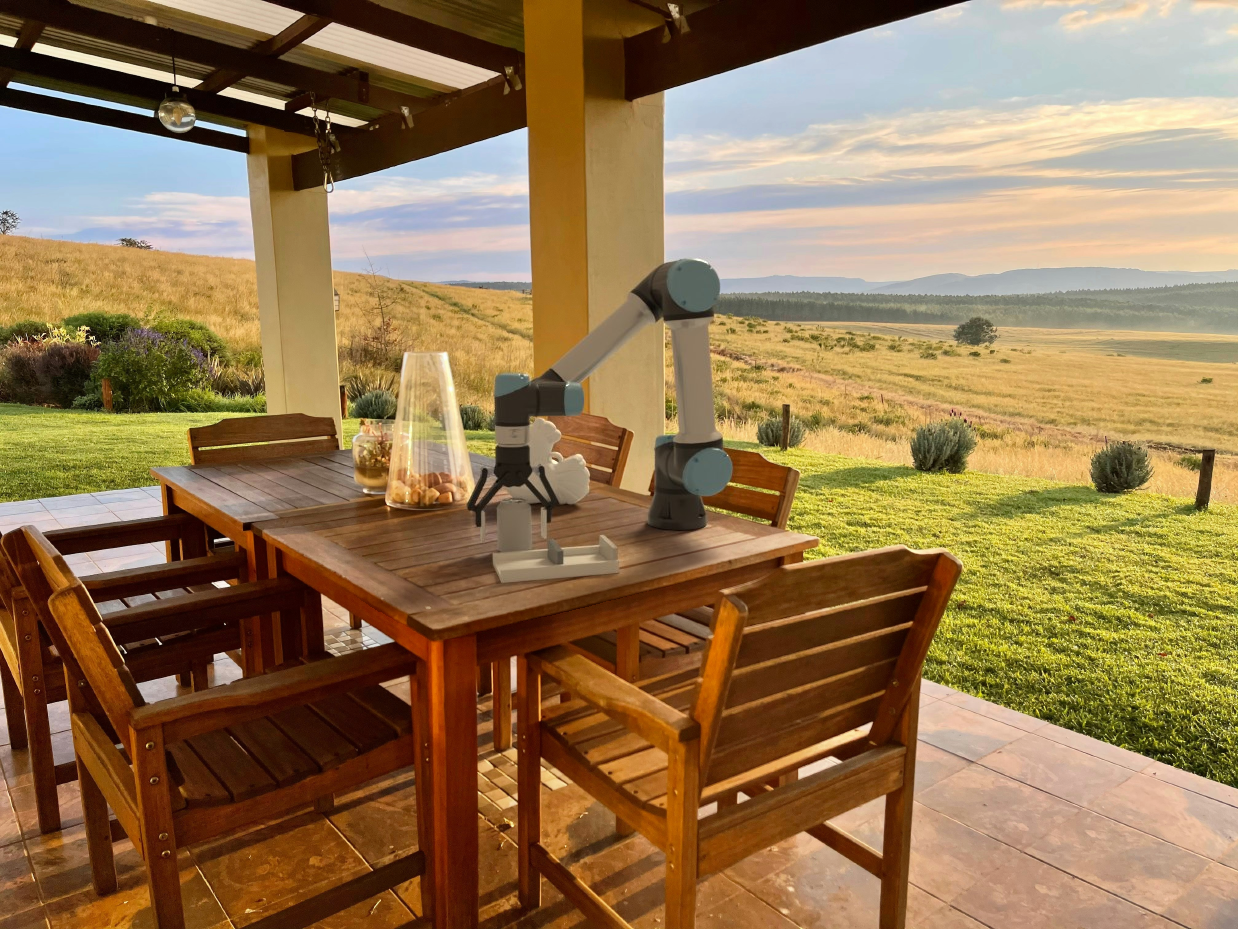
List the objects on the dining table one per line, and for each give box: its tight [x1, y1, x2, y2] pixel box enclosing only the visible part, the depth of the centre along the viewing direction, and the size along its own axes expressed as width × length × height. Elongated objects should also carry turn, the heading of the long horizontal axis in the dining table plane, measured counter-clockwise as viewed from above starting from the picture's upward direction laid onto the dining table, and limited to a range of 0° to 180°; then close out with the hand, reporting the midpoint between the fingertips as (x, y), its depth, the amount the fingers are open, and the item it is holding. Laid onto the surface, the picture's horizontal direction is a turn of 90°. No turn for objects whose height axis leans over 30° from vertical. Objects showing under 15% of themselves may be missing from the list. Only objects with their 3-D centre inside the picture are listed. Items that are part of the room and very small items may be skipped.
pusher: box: [546, 537, 563, 565], centre depth 168 cm, size 1×10×4 cm, turn 16°
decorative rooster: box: [503, 417, 591, 505], centre depth 226 cm, size 25×16×25 cm
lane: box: [492, 534, 620, 584], centre depth 168 cm, size 24×13×5 cm, turn 106°
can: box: [496, 496, 533, 553], centre depth 180 cm, size 8×8×12 cm
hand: (513, 539), depth 180 cm, fingers open, 13 cm apart
